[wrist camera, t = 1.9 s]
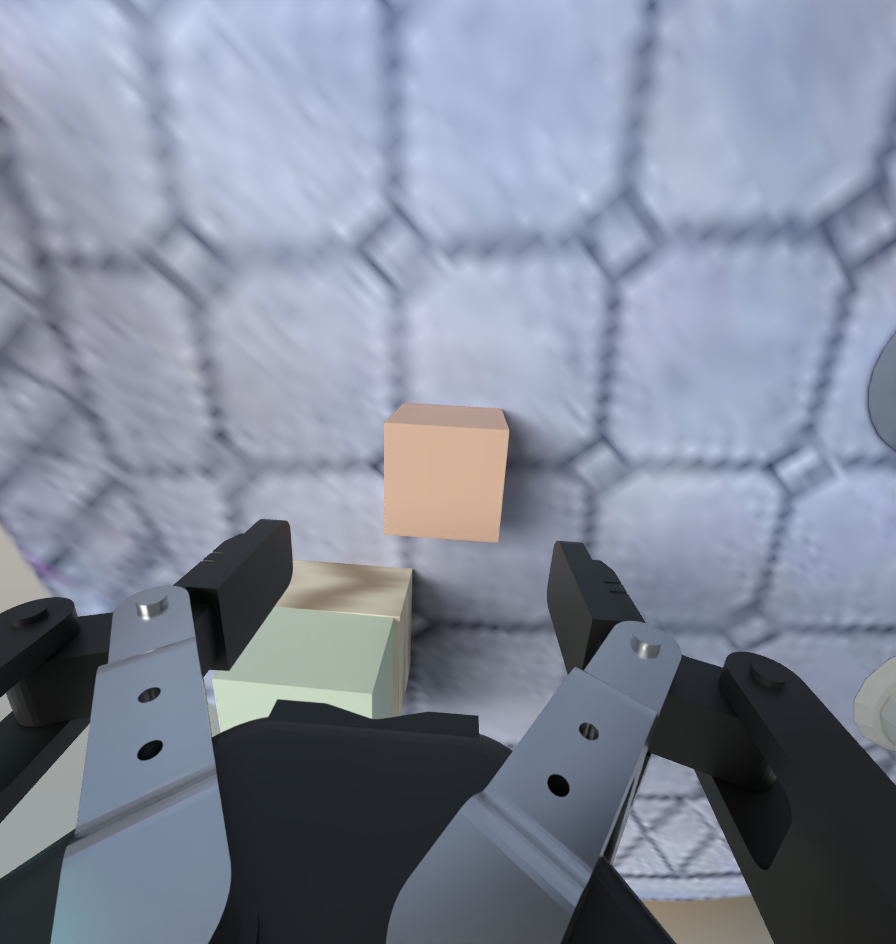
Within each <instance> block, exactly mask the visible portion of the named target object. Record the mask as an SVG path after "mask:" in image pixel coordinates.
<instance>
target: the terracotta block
mask: <svg viewBox="0 0 896 944" xmlns="http://www.w3.org/2000/svg"><path fill="white" fill-rule="evenodd" d="M508 440H509V428H508V425H507V422H506V419H505V417H504V414H503V411H502V409H499V408H482V407H465V406H449V405H432V404H416V403H403V404H402V405H401V406H400V407H399V408H398V409H397V410H396V411H395V412H394V413H393V414H392V415H391V416H390V417H389V418H388V419H387V420H386V421H385V422H384V534H386V535H399V536H413V537H426V538H440V539H454V540H467V541H481V542H495V543H498V540H499V530H500V520H501V510H502V500H503V490H504V480H505V470H506V460H507V450H508Z"/></svg>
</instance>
